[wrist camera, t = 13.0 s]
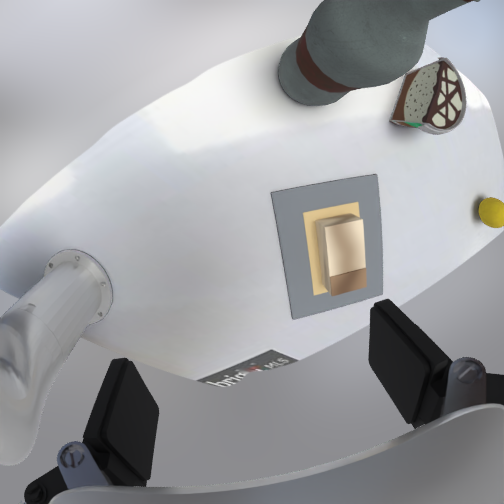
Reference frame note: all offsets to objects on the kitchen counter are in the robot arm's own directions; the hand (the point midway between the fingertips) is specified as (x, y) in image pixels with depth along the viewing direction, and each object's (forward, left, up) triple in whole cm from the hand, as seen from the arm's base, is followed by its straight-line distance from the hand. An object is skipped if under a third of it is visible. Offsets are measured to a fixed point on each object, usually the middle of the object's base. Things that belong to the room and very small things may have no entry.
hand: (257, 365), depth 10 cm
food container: (+31, +11, -31) cm, 45 cm away
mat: (+14, -9, -30) cm, 35 cm away
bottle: (+14, +16, -31) cm, 37 cm away
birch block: (+14, -9, -30) cm, 34 cm away
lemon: (+47, -8, -31) cm, 57 cm away
